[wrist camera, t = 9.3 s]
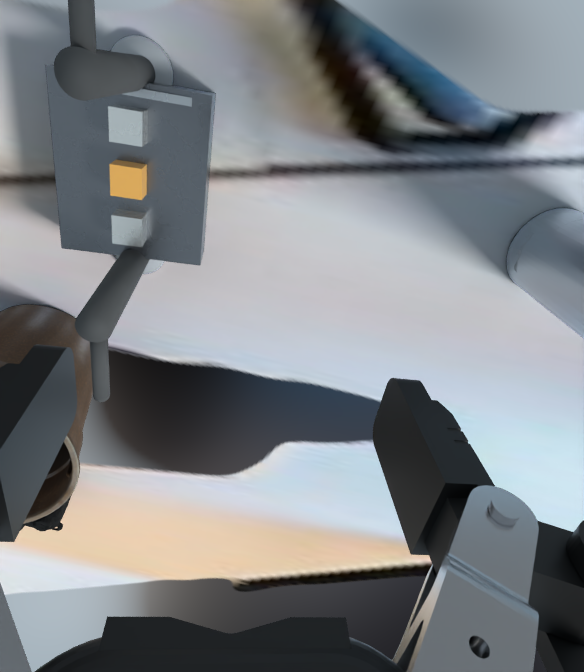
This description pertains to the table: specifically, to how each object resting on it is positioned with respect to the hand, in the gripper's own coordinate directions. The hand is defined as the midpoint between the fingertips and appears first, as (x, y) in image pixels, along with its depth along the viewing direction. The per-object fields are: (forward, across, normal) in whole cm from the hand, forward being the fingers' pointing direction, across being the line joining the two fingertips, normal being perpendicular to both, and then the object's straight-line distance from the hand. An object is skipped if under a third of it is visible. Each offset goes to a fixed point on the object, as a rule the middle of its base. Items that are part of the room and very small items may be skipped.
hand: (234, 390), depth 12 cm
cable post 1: (+34, +9, -8) cm, 36 cm away
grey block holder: (+34, +9, +2) cm, 35 cm away
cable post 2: (+34, +9, +12) cm, 37 cm away
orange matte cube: (+30, +9, +2) cm, 31 cm away
